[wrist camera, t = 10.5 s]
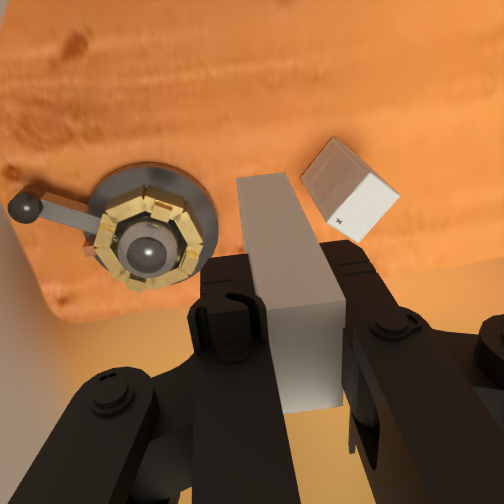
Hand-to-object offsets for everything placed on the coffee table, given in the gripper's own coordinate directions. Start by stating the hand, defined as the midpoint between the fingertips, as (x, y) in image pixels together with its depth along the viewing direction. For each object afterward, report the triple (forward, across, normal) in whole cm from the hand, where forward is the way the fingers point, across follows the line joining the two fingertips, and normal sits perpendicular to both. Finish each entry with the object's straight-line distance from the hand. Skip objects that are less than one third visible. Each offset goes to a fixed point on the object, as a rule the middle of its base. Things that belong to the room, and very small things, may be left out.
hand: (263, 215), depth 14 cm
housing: (+34, -10, -16) cm, 39 cm away
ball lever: (+32, -14, -14) cm, 38 cm away
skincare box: (+35, +11, -12) cm, 38 cm away
